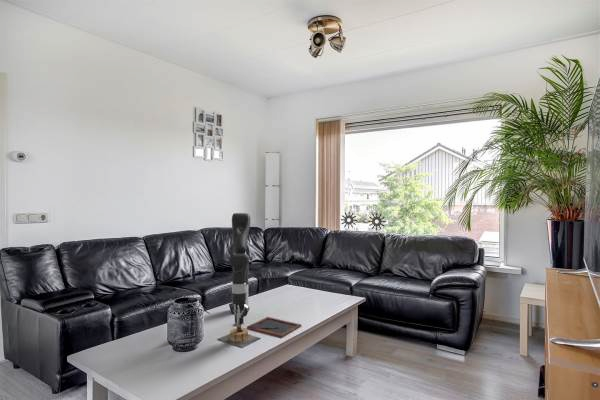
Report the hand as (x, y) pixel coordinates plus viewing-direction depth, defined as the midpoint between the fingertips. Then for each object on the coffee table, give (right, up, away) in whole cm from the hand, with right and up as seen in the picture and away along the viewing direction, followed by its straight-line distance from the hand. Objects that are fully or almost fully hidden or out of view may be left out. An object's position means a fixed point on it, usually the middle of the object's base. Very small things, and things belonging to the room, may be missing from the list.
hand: (239, 323), depth 186 cm
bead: (-4, -8, +23) cm, 25 cm away
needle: (0, -4, 0) cm, 4 cm away
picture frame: (+18, -9, +17) cm, 26 cm away
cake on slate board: (0, -8, 0) cm, 8 cm away
